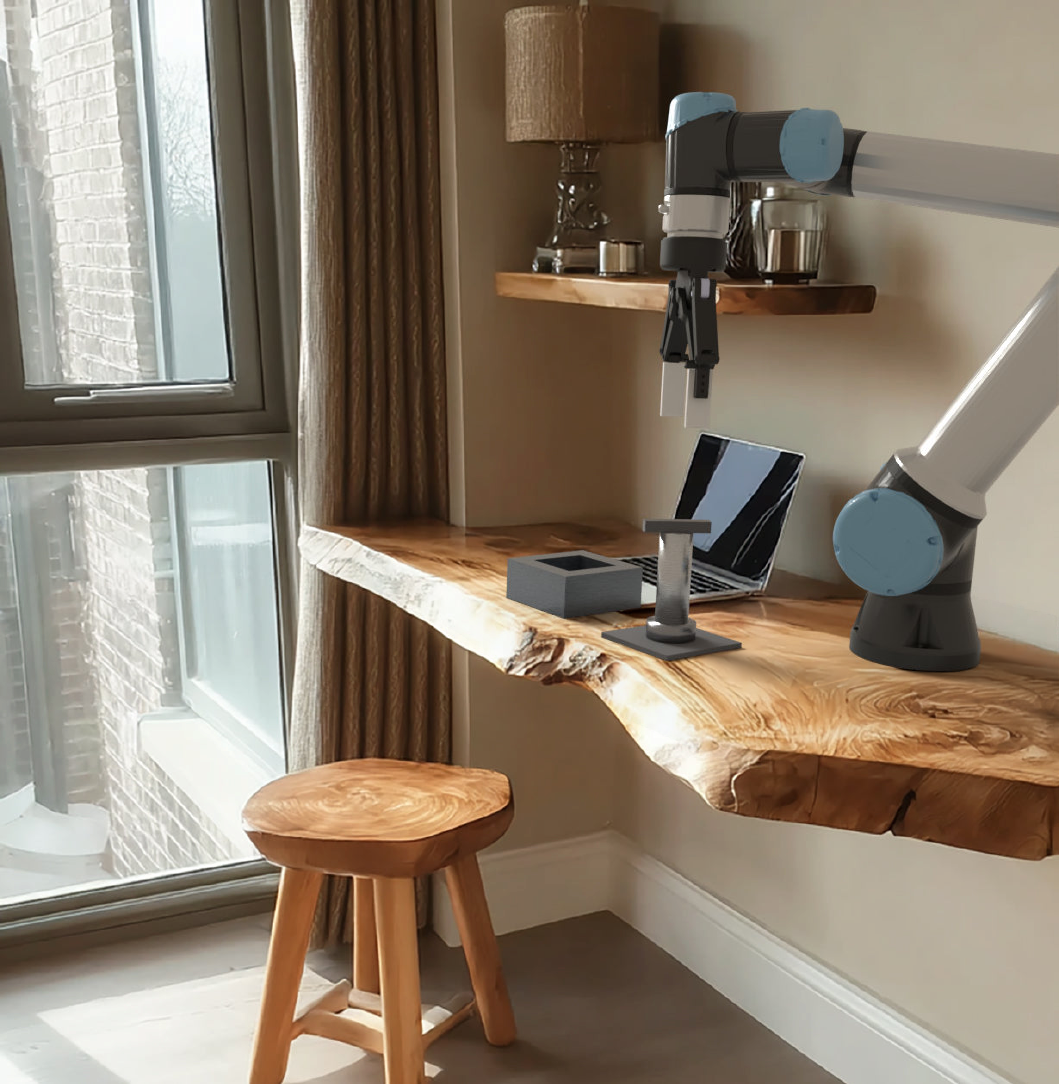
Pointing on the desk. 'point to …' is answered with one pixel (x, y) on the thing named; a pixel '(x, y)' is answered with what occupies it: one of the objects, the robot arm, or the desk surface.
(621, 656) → the desk surface
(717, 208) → the robot arm
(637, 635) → the mat
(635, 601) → the block
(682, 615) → the chuck key
